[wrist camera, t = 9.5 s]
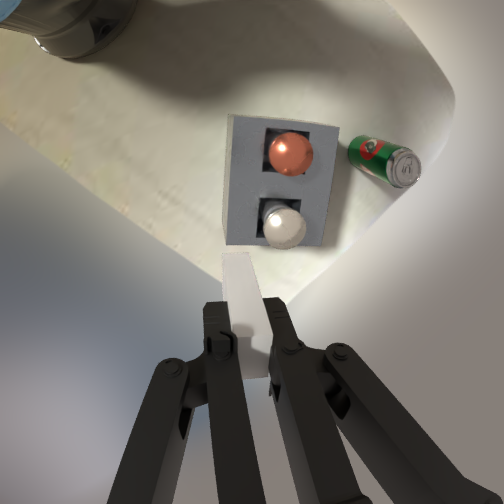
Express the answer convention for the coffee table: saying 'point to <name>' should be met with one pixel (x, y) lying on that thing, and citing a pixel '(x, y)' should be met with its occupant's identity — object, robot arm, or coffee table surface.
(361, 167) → the soda can
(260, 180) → the housing
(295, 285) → the coffee table surface
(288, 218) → the white light bulb
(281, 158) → the orange light bulb
